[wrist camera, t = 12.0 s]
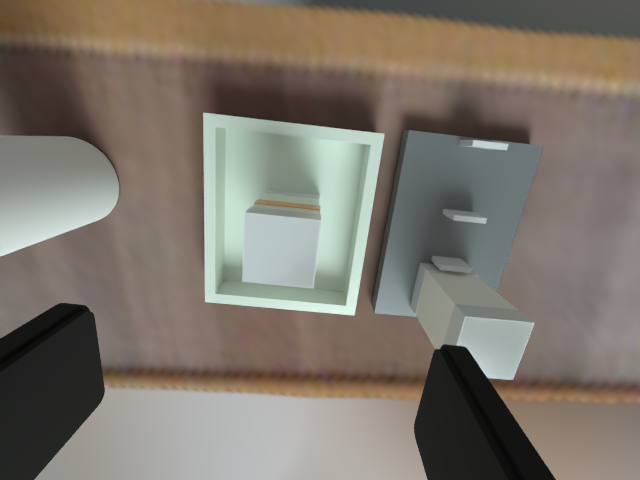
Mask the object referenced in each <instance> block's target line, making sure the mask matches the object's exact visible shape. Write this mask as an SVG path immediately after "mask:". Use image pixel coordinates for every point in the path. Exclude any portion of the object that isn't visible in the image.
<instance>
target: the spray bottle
mask: <svg viewBox="0 0 640 480" xmlns="http://www.w3.org/2000/svg"><path fill="white" fill-rule="evenodd" d="M118 196H119V182H118V178H117V174H116V172H115V170H114V168H113V166H112V164H111V163H110V161H109V160H108V159H107V157H106V156H105V155H104V154H103V153H102V152H101V151H100V150H98V149H97V148H96V147H94V146H93V145H91V144H90V143H88V142H86V141H83V140H81V139H78V138H74V137H67V136H4V135H0V256H3V255H5V254H8V253H11V252H14V251H16V250H19V249H22V248H24V247H27V246H30V245H33V244H35V243H38V242H41V241H43V240H46V239H49V238H51V237H54V236H57V235H60V234H62V233H65V232H68V231H70V230H73V229H76V228H79V227H81V226H84V225H87V224H89V223H92V222H95V221H97V220H100V219H102V218H104V217H105V216H107V215H108V214H109V213H110V212H111V211H112V210H113V208H114V207H115V205H116V203H117V200H118Z"/></svg>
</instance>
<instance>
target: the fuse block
mask: <svg viewBox="0 0 640 480" xmlns="http://www.w3.org/2000/svg"><path fill="white" fill-rule="evenodd" d="M543 147H544V146H540V145H531V144H523V143H514V142H506V141H497V140H489V139H480V138H472V137H463V136H455V135H446V134H438V133H429V132H421V131H412V130H405V131H403V135H402V141H401V146H400V151H399V157H398V162H397V168H396V173H395V179H394V184H393V190H392V195H391V201H390V206H389V211H388V217H387V222H386V228H385V233H384V239H383V244H382V250H381V255H380V261H379V266H378V271H377V277H376V282H375V288H374V293H373V299H372V307H373V310H374V313H380V314H391V315H402V316H413V317H417V316H416V315H415V314H414V313H413V311H412V309H411V307H410V305H411V300H412V296H413V291H414V287H415V283H416V278H417V274H418V270H419V265H420V263H430V264H435V265H436V266H437V267H438V268H439V269H440V270H444V271H454V272H464V273H472V271H474V272H475V273H476V274H477V276H478V277H479V278H481V279H482V280H483V281H484V282H485V283H486V284H488V285H489V286H490V287H491V288H492V289H493V290H495V291H496V292H497V289H498V286H499V283H500V280H501V277H502V274H503V271H504V267H505V264H506V261H507V258H508V255H509V252H510V249H511V246H512V243H513V240H514V237H515V233H516V230H517V227H518V224H519V221H520V218H521V215H522V212H523V209H524V206H525V203H526V200H527V196H528V193H529V190H530V187H531V184H532V181H533V178H534V175H535V172H536V169H537V166H538V162H539V159H540V156H541V153H542V150H543Z"/></svg>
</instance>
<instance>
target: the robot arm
mask: <svg viewBox="0 0 640 480" xmlns="http://www.w3.org/2000/svg"><path fill="white" fill-rule="evenodd" d="M104 392H105V388H104V381H103V374H102V367H101V360H100V352H99V345H98V338H97V331H96V324H95V317H94V314H93V313H92V312H90V310H89V308H88V307H87V306H85V305H78V304H68V303H60V304H57V305H55V306H54V307H52V308H50V309H49V310H47V311H45V312H44V313H42V314H40V315H39V316H37V317H36V318H34V319H32V320H31V321H29V322H27V323H26V324H24V325H22V326H21V327H19V328H17V329H16V330H14V331H12V332H11V333H9V334H7V335H6V336H4V337H2V338H1V339H0V480H34V479H35V478H36V477H37V476H38V474H39V473H40V472H41V471H42V470H43V469H44V468H45V467H46V465H47V464H48V463H49V462H50V461H51V460H52V458H53V457H54V456H55V455H56V454H57V453H58V452H59V450H60V449H61V448H62V447H63V446H64V445H65V443H66V442H67V441H68V440H69V439H70V438H71V437H72V435H73V434H74V433H75V432H76V431H77V429H78V428H79V427H80V426H81V425H82V424H83V423H84V422H85V420H86V419H87V418H88V417H89V416H90V415H91V413H92V412H93V411H94V410H95V409H96V408H97V406H98V405H99V404H100V403H101V401H102V398H103V396H104ZM414 433H415V438H416V442H417V445H418V448H419V452H420V455H421V459H422V462H423V466H424V469H425V472H426V476H427V479H428V480H556V479H555V478H554V476H553V475H552V473H551V472H550V470H549V469H548V467H547V466H546V465H545V463H544V461H543V460H542V459H541V457H540V456H539V454H538V453H537V451H536V450H535V448H534V447H533V445H532V444H531V442H530V441H529V439H528V438H527V436H526V435H525V433H524V432H523V430H522V429H521V427H520V426H519V424H518V423H517V421H516V420H515V418H514V417H513V415H512V414H511V413H510V411H509V409H508V408H507V407H506V405H505V403H504V402H503V400H502V399H501V398H500V396H499V395H498V393H497V392H496V390H495V389H494V387H493V386H492V384H491V383H490V381H489V380H488V378H487V377H486V375H485V374H484V372H483V371H482V369H481V368H480V366H479V365H478V363H477V362H476V360H475V359H474V357H473V356H472V354H471V353H470V351H469V350H468V349H467V348H466V347H464V346H456V345H447V344H444V345H442V346H441V348H440V349H435V351H434V353H433V357H432V360H431V364H430V368H429V371H428V375H427V379H426V382H425V386H424V390H423V394H422V397H421V401H420V405H419V409H418V412H417V416H416V420H415V424H414Z"/></svg>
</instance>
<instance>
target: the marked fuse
mask: <svg viewBox="0 0 640 480" xmlns="http://www.w3.org/2000/svg"><path fill="white" fill-rule="evenodd" d="M319 202H320V195H318V194H309V193H299V192H290V191H281V190H272V189H267V190H266V191H265V194H264V195H263V196H262V197H261V198H260V199H257V200H256V201H255V202H254V205H253V206H252V207H249V208H248V210H247V211H246V212H245V220H244V249H243V278H242V282H252V283H263V284H273V285H284V286H294V287H305V288H313V286H314V278H315V269H316V260H317V252H318V243H319V234H320V226H321V214H320V210H321V209H320V206H319Z"/></svg>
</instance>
